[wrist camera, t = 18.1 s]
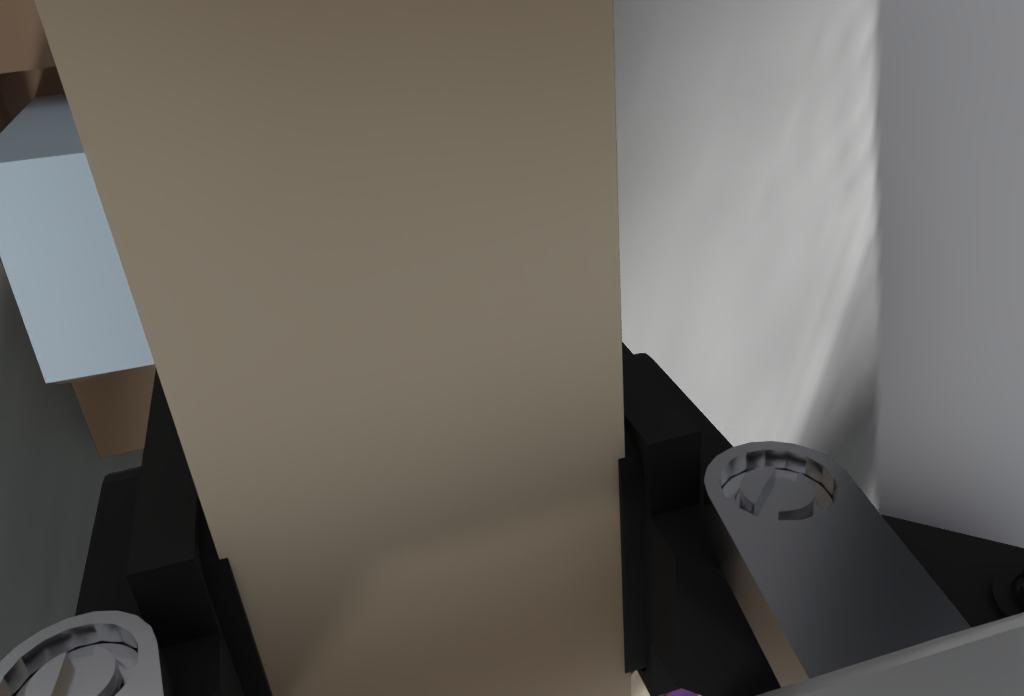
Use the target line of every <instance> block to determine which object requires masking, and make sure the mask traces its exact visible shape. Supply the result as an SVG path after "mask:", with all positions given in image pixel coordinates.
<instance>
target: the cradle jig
mask: <svg viewBox="0 0 1024 696" xmlns="http://www.w3.org/2000/svg"><path fill="white" fill-rule="evenodd" d="M58 94H65V91H64V88H63V85H62V82H61V79H60V76H59V73H58V70H57V67H56V64H55V61H54V58H53V55H52V52H51V49H50V46H49V43H48V40H47V37H46V34H45V31H44V28H43V25H42V22H41V19H40V16H39V13H38V10H37V7H36V4H35V1H34V0H0V133H1V132H2V131H3V130H4V129H5V128H6V127H7V126H8V125H9V124H10V123H11V122H12V121H13V120H14V118H15V117H16V116H17V115H18V114H19V113H20V112H21V111H22V110H23V109H24V108H25V107H26V106H27V105H28V104H29V103H30V102H31V101H32V100H33V99H34V98H35V97H40V96H49V95H58ZM155 370H156V366H155V364H153V365H147V366H141V367H136V368H130V369H124V370H119V371H113V372H107V373H102V374H96V375H91V376H85V377H79V378H74V379H68V380H62V381H57V382H56V383H57V385H60V384H65V383H70V382H71V384H72V387H73V390H74V392H75V395H76V397H77V400H78V403H79V405H80V408H81V410H82V413H83V416H84V418H85V421H86V423H87V426H88V428H89V431H90V434H91V436H92V439H93V441H94V444H95V447H96V449H97V452H98V454H99V457H100V458H105V457H109V456H114V455H118V454H122V453H127V452H131V451H136V450H140V449H144V446H145V439H146V432H147V425H148V418H149V411H150V405H151V398H152V391H153V384H154V377H155Z"/></svg>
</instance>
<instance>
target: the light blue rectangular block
mask: <svg viewBox="0 0 1024 696" xmlns="http://www.w3.org/2000/svg"><path fill="white" fill-rule="evenodd" d="M0 257H1V260H2V263H3V266H4V268H5V271H6V274H7V277H8V279H9V282H10V285H11V288H12V291H13V293H14V296H15V299H16V302H17V305H18V307H19V310H20V313H21V316H22V319H23V321H24V324H25V327H26V330H27V332H28V335H29V338H30V341H31V344H32V346H33V349H34V352H35V355H36V358H37V360H38V363H39V366H40V369H41V371H42V374H43V377H44V380H45V383H51V382H57V381H62V380H68V379H74V378H79V377H85V376H91V375H96V374H102V373H107V372H113V371H119V370H124V369H130V368H136V367H141V366H147V365H153V364H155V363H154V360H153V357H152V354H151V351H150V348H149V345H148V342H147V339H146V336H145V333H144V330H143V327H142V324H141V321H140V318H139V315H138V312H137V309H136V306H135V303H134V300H133V297H132V294H131V291H130V288H129V285H128V282H127V279H126V276H125V273H124V270H123V266H122V263H121V260H120V257H119V254H118V251H117V248H116V245H115V242H114V239H113V236H112V233H111V230H110V227H109V224H108V221H107V218H106V215H105V212H104V209H103V206H102V203H101V200H100V197H99V194H98V191H97V188H96V185H95V182H94V179H93V176H92V173H91V170H90V167H89V164H88V161H87V158H86V155H85V152H84V149H83V146H82V143H81V140H80V137H79V134H78V131H77V128H76V125H75V122H74V119H73V115H72V112H71V109H70V106H69V103H68V100H67V97H66V94H58V95H49V96H40V97H35V98H34V99H33V100H32V101H31V102H30V103H29V104H28V105H27V106H26V107H25V108H24V109H23V110H22V111H21V112H20V113H19V114H18V115H17V116H16V117H15V118H14V120H13V121H12V122H11V123H10V124H9V125H8V126H7V127H6V128H5V129H4V130H3V131H2V132H1V133H0Z"/></svg>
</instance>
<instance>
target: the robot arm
mask: <svg viewBox="0 0 1024 696" xmlns="http://www.w3.org/2000/svg"><path fill="white" fill-rule="evenodd" d="M622 366H623V403H624V440H625V457H624V458H620V459H618V471H619V503H620V535H621V566H622V598H623V630H624V661H625V673H629V672H632V671H635V670H637V671H638V673H639V675H640V677H641V679H642V681H643V683H644V685H645V687H646V688H647V690H648V692H649V694H650V696H659V695H662V694H666V693H669V692H672V691H675V690H678V689H681V688H682V689H685V690H688V691H690V692H693V693H696V694H699V696H1024V548H1020V547H1016V546H1012V545H1008V544H1004V543H999V542H995V541H991V540H987V539H983V538H978V537H974V536H970V535H966V534H961V533H957V532H953V531H949V530H945V529H940V528H936V527H932V526H928V525H923V524H919V523H915V522H911V521H906V520H903V519H898V518H894V517H889V516H885V515H881V514H880V513H879V512H878V510H877V509H876V508H875V507H874V505H873V504H872V503H871V502H870V500H869V499H868V498H867V497H866V495H865V494H864V493H863V492H862V491H861V489H860V488H859V487H858V486H857V484H856V483H855V482H854V481H853V479H852V478H851V477H850V476H849V474H848V473H847V472H846V471H845V470H844V469H843V468H842V467H841V466H839V465H838V464H837V463H836V462H835V461H834V460H833V459H831V458H829V457H827V456H825V455H823V454H821V453H820V452H818V451H816V450H813V449H810V448H806V447H803V446H800V445H796V444H792V443H783V442H775V441H766V442H750V443H746V444H743V445H739V446H735V447H733V446H732V445H731V444H730V443H729V442H728V441H727V439H726V438H725V437H724V436H723V435H722V434H721V433H720V432H719V431H718V430H717V429H716V427H715V426H714V425H713V424H712V423H711V422H710V421H709V420H708V419H707V418H706V417H705V415H704V414H703V413H702V412H701V411H700V410H699V409H698V408H697V407H696V406H695V405H694V403H693V402H692V401H691V400H690V399H689V398H688V397H687V396H686V395H685V394H684V393H683V392H682V390H681V389H680V388H679V387H678V386H677V385H676V384H675V383H674V382H673V381H672V380H671V378H670V377H669V376H668V375H667V374H666V373H665V372H664V371H663V370H662V369H661V368H660V366H659V365H658V364H657V363H656V362H655V361H654V360H653V359H652V358H651V357H650V356H648V355H647V354H646V353H639V354H634V355H633V353H632V352H631V351H630V350H629V349H628V348H627V347H626V346H625V344H624V343H623V342H622ZM0 696H273V695H272V692H271V689H270V686H269V683H268V680H267V677H266V674H265V671H264V667H263V664H262V661H261V658H260V655H259V652H258V649H257V646H256V643H255V640H254V637H253V634H252V630H251V627H250V624H249V621H248V618H247V615H246V612H245V609H244V606H243V603H242V600H241V597H240V593H239V590H238V587H237V584H236V581H235V578H234V575H233V572H232V569H231V566H230V563H229V560H228V558H224V559H219V556H218V553H217V550H216V547H215V544H214V541H213V538H212V535H211V532H210V529H209V526H208V523H207V520H206V517H205V514H204V511H203V508H202V505H201V502H200V499H199V496H198V493H197V490H196V487H195V484H194V481H193V478H192V475H191V472H190V469H189V466H188V463H187V460H186V457H185V454H184V451H183V448H182V445H181V442H180V439H179V436H178V433H177V430H176V427H175V424H174V421H173V417H172V414H171V411H170V408H169V405H168V402H167V399H166V396H165V393H164V390H163V387H162V384H161V381H160V378H159V375H158V372H157V369H156V370H155V377H154V384H153V391H152V398H151V405H150V411H149V418H148V425H147V432H146V439H145V446H144V453H143V460H142V466H141V467H137V468H132V469H128V470H123V471H119V472H115V473H110V474H108V475H106V476H105V478H104V481H103V484H102V488H101V493H100V498H99V503H98V507H97V512H96V517H95V522H94V527H93V532H92V536H91V541H90V546H89V551H88V556H87V560H86V565H85V570H84V575H83V580H82V585H81V589H80V594H79V599H78V604H77V609H76V613H75V616H74V617H70V618H67V619H65V620H62V621H60V622H58V623H56V624H53V625H51V626H49V627H46V628H44V629H42V630H40V631H39V632H37V633H36V634H34V635H33V636H31V637H30V638H28V639H27V640H25V641H24V642H22V643H21V644H19V645H17V646H16V647H15V648H14V649H13V650H12V651H11V652H10V653H9V654H8V655H7V656H5V657H4V658H3V659H2V660H1V661H0Z"/></svg>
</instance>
